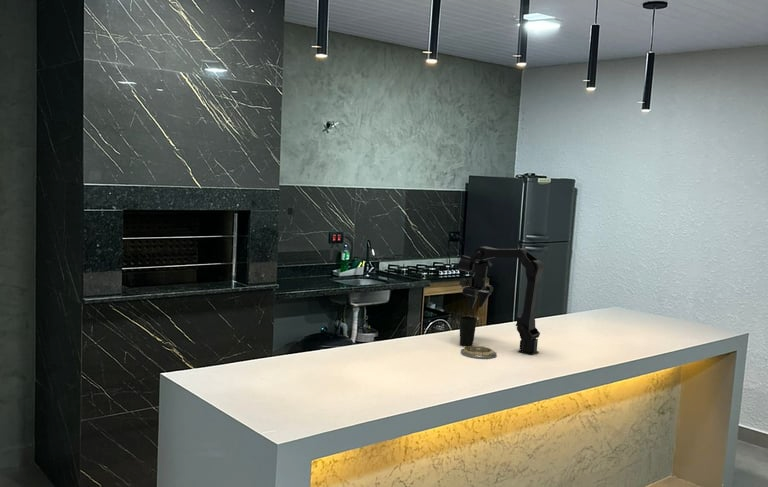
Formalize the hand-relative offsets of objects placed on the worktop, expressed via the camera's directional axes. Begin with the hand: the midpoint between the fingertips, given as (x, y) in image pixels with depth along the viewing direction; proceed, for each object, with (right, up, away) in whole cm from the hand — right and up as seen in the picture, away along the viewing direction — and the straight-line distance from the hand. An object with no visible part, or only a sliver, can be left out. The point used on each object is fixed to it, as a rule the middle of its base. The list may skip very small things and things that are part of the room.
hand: (475, 308), depth 309 cm
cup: (-5, -16, -7) cm, 18 cm away
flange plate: (-2, -17, -22) cm, 28 cm away
